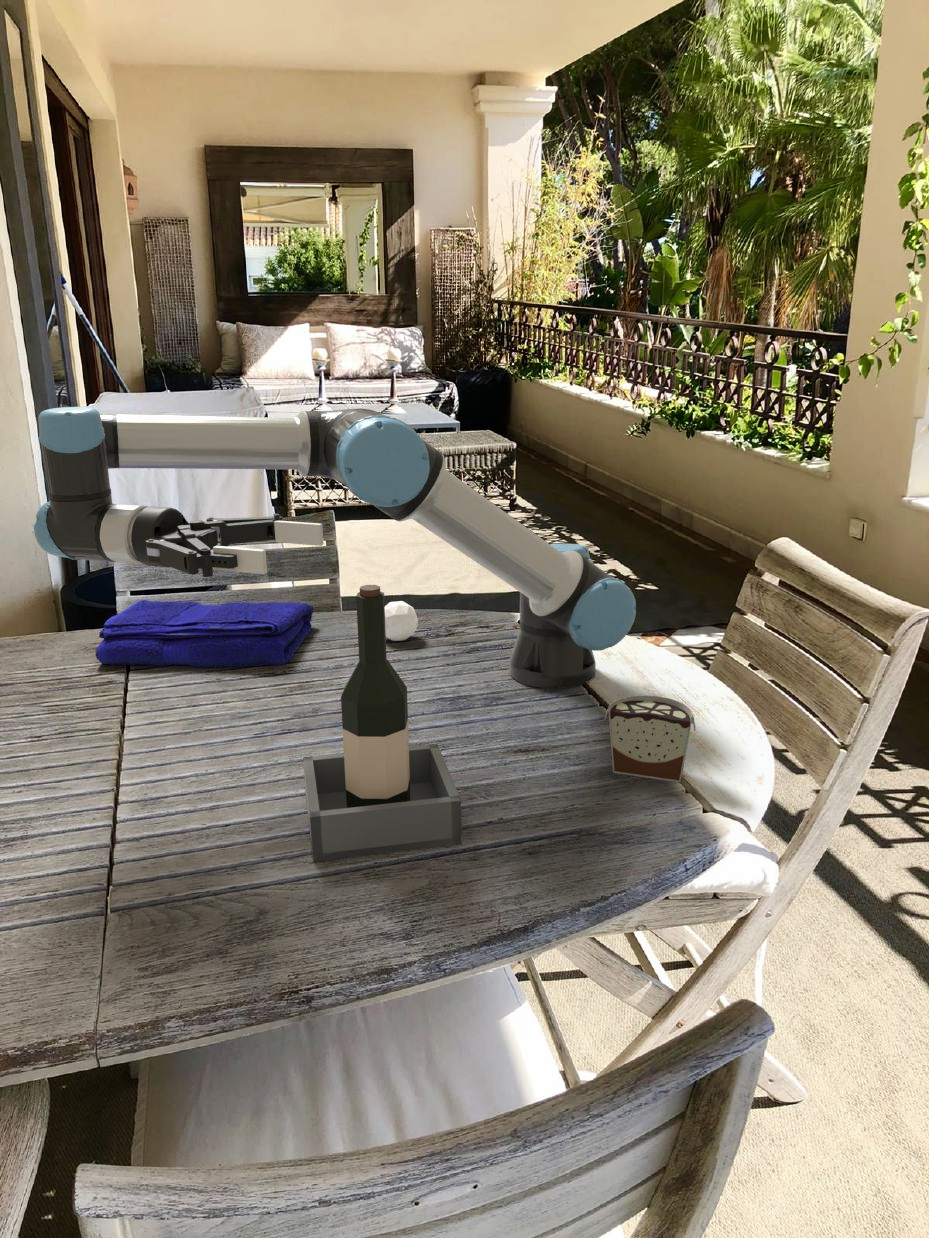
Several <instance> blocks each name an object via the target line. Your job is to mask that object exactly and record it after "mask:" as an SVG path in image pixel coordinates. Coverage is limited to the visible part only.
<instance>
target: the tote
mask: <svg viewBox="0 0 929 1238" xmlns="http://www.w3.org/2000/svg"><path fill="white" fill-rule="evenodd" d="M302 760H303V774H304V775H303V777H304V788H305V789H304V790H305V791H304V792H305V803H306V811H307V812H306V813H307V819H308V820H307V821H308V829H309V837H310V845H311V846H310V848H311V855H312V856H311V857H312V862H313V863H316V862H323V861H325V862H326V861H332V860H341V859H349V858H358V857H359V858H360V857H366V856H375V855H382V854H383V855H385V854H391V853H400V852H407V851H409V852H410V851H416V850H424V849H433V848H434V849H435V848H441V847H451V846H457V845H462V844H463V841H462V839H463V838H462V837H463V835H462V799H461V797H460V794H459V792H458V790H457V787H456V784H455V783H454V780H453V777H452V776H451V773H450V770H449V768H448V766H447V763H446V761H445V759H444V757H443V754H442V751H441V749H440V747H439V744H438V743H435V744H434V743H433V744H423V745H422V744H421V745H412V746H409V770H410V801H407V802H398V803H389V804H380V805H371V806H361V807H352V808H347V801H346V783H345V764H344V752H341V753H340V752H339V753H332V754H331V753H330V754H322V755H311V756H303V758H302Z"/></svg>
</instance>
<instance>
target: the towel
mask: <svg viewBox="0 0 929 1238" xmlns="http://www.w3.org/2000/svg"><path fill="white" fill-rule="evenodd" d="M314 611H315V610H314V606H313V605H311V604H308V603H305V602H274V601H272V602H271V601H269V602H268V601H267V602H247V601H246V602H244V601H243V602H242V601H241V602H226V603H222V604H220V605H218V604H217V605H216V604H210V605H209V604H202V603H200V602H198V601H160V600H158V601H157V600H155V601H152V600H148V599H142V600H137V602H135V603H133V604H131V605H130V606H128V607H127V608H125V609H124V610H122V611H121V612H119V613H118V614H115V615H113V616H111V617H110V618H108V619H107V620H106V621H105V622H104V624H103V628H102V629H101V630H100V631H99V632H98V638H100V639H102V641H101V642H100V643H99V645H98V646H97V648H96V649H95V658H96V660H98V662H99V663H100V664H103V665H111V666H115V665H116V666H121V665H122V666H124V665H129V666H130V665H131V666H132V665H135V666H137V665H142V666H143V665H153V666H160V667H161V666H162V667H164V666H165V667H166V666H171V665H179V666H192V667H193V668H213V667H215V668H221V667H223V668H224V667H225V668H227V667H234V668H235V667H236V668H237V667H240V668H241V667H256V666H258V667H259V666H272V665H273V666H281V665H285V664H287V663H288V662H290V661H291V659H292V657H293V656H294V654H295V653H296V651H297V650H298V648H299V647H301V645H302V642H304V640H305V639H306V638H307V636H308V635H309V633H311V630H312V623H311V622H312V619H313V618H312V616H313V613H314ZM305 637H306V638H305Z"/></svg>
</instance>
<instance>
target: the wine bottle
mask: <svg viewBox="0 0 929 1238" xmlns="http://www.w3.org/2000/svg"><path fill="white" fill-rule="evenodd" d="M355 598H356V620H357V642H358V662H357V664H356V666H355V669H353V672H352V673H351V675H350V677H349V679H348V681H347V683H346V685H345V686H344V689H343V690H342V693H341V695H340V704H341V708H340V709H341V724H342V740H343V741H342V742H343V743H342V744H343V745H342V746H343V753H344V764H345V783H346V801H347V808H352V807H361V806H371V805H380V804H389V803H398V802H407V801H410V770H409V747H410V746H409V745H410V743H409V742H410V741H409V713H408V712H409V709H408V687H407V685H406V684H405V683H404V681H403V680H402V678H401V677H400V676H399V674H398V673H397V671H396V670H395V668H394V667H393V665H392V664H391V663H390V661H389V660H388V658H387V637H386V630H385V606H386V605H385V603H386V602H385V592H383V591H381V586H380V585H377V584H365V585H361V586H360V587H359V592H357V593H356V596H355Z"/></svg>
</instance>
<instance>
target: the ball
mask: <svg viewBox="0 0 929 1238" xmlns="http://www.w3.org/2000/svg"><path fill="white" fill-rule="evenodd" d="M418 623H419V618H418V616H417V614H416V611H415V608H414V607H413V606H411V605H410V604H408V603H407V602H405V601H403V600H399V601H390V602H388V603H387V604H386V605H385V630H386V639H389V640H391V641H392V642H399V641H401V642H402V641H406V640H407V639H409V638H410V637H411V636H412V635H413V634H414V633H415V632H416V630H417V628H418Z"/></svg>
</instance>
